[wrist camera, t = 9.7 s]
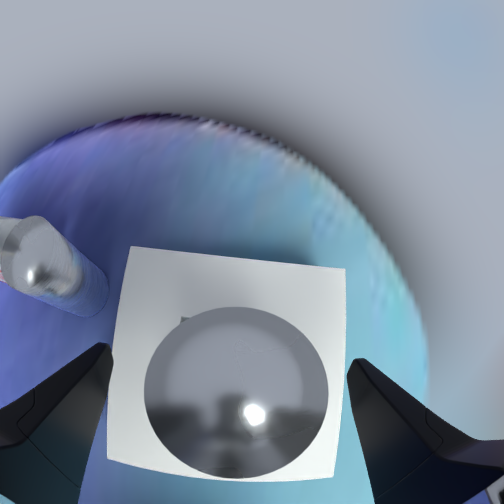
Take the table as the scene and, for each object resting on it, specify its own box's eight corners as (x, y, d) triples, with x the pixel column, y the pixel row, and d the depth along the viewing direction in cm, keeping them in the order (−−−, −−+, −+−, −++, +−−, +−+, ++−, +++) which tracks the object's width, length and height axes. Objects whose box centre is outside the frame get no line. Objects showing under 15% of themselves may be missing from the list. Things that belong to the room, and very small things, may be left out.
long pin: (231, 411, 16) (253, 504, 4) (183, 373, 17) (109, 400, 5) (269, 366, 18) (360, 375, 6) (222, 329, 18) (223, 270, 6)
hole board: (313, 458, 15) (333, 476, 12) (126, 442, 14) (107, 458, 11) (324, 285, 20) (345, 269, 17) (145, 266, 19) (130, 245, 16)
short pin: (103, 321, 18) (42, 296, 10) (60, 311, 17) (-7, 282, 10) (113, 268, 19) (63, 217, 12) (71, 262, 19) (14, 213, 11)
